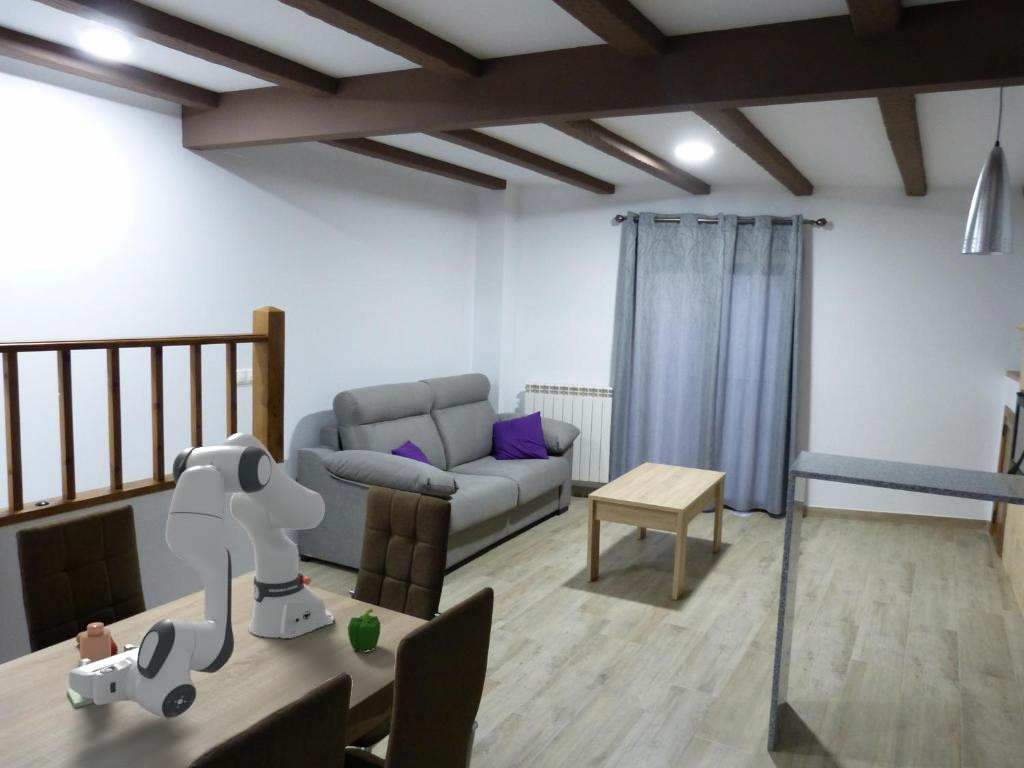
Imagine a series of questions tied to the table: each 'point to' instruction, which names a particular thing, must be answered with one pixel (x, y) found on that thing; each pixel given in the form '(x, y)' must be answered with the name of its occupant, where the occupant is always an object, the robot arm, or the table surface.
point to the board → (78, 698)
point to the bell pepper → (364, 631)
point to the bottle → (95, 642)
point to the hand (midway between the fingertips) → (105, 655)
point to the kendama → (113, 645)
